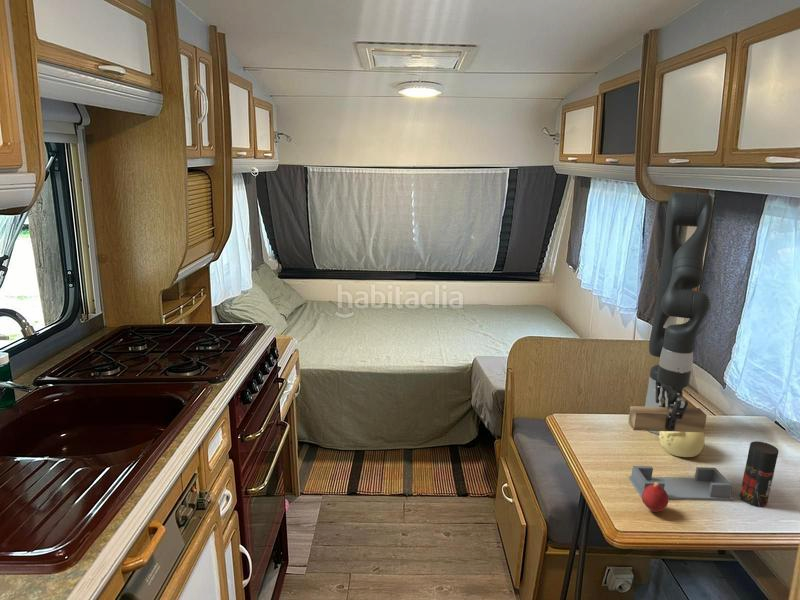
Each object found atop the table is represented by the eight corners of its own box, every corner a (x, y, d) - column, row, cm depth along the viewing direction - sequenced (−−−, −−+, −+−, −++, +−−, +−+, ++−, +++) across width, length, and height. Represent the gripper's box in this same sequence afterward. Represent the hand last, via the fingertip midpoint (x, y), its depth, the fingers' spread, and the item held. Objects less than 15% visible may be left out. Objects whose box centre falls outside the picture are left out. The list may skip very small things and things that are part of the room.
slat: (628, 423, 147) (630, 406, 146) (696, 425, 147) (699, 408, 145) (633, 430, 143) (636, 412, 142) (703, 432, 143) (706, 415, 141)
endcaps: (628, 478, 148) (630, 464, 147) (713, 480, 148) (716, 466, 147) (641, 498, 139) (643, 484, 138) (732, 500, 139) (735, 486, 138)
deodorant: (741, 490, 143) (752, 438, 140) (768, 499, 140) (779, 446, 136) (737, 500, 139) (748, 448, 135) (765, 510, 135) (777, 456, 131)
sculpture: (655, 438, 169) (660, 406, 166) (698, 446, 165) (704, 413, 162) (658, 457, 159) (663, 423, 156) (704, 465, 155) (710, 431, 152)
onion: (658, 503, 137) (663, 475, 135) (670, 518, 132) (675, 489, 130) (636, 503, 137) (640, 476, 135) (646, 518, 132) (651, 490, 130)
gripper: (649, 355, 147) (640, 413, 152) (672, 375, 134) (663, 439, 138) (677, 356, 147) (668, 414, 152) (704, 376, 133) (693, 439, 138)
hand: (665, 425), depth 145 cm, fingers closed on slat, 4 cm apart
